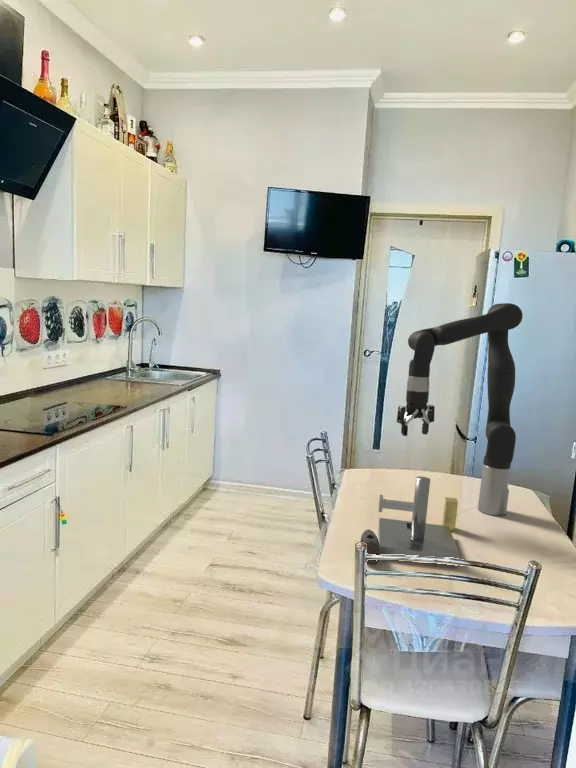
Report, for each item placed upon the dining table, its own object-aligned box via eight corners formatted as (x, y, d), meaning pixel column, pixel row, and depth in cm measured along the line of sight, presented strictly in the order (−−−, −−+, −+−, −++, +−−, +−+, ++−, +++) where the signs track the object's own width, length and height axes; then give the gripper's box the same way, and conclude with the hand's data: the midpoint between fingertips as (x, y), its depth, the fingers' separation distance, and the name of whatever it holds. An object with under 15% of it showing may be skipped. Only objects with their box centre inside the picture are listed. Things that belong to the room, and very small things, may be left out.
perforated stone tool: (358, 543, 166) (359, 521, 165) (375, 545, 165) (377, 523, 164) (360, 566, 151) (362, 542, 150) (379, 568, 150) (382, 544, 149)
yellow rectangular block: (453, 527, 183) (456, 498, 182) (454, 531, 180) (458, 502, 178) (442, 525, 184) (445, 497, 182) (443, 529, 180) (446, 500, 179)
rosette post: (447, 536, 175) (455, 470, 172) (458, 568, 153) (467, 492, 150) (375, 527, 178) (381, 462, 175) (375, 557, 157) (382, 483, 154)
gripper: (427, 387, 196) (424, 431, 198) (394, 388, 190) (391, 433, 193) (441, 390, 189) (437, 436, 192) (407, 391, 184) (404, 438, 186)
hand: (414, 434), depth 192 cm, fingers open, 8 cm apart
